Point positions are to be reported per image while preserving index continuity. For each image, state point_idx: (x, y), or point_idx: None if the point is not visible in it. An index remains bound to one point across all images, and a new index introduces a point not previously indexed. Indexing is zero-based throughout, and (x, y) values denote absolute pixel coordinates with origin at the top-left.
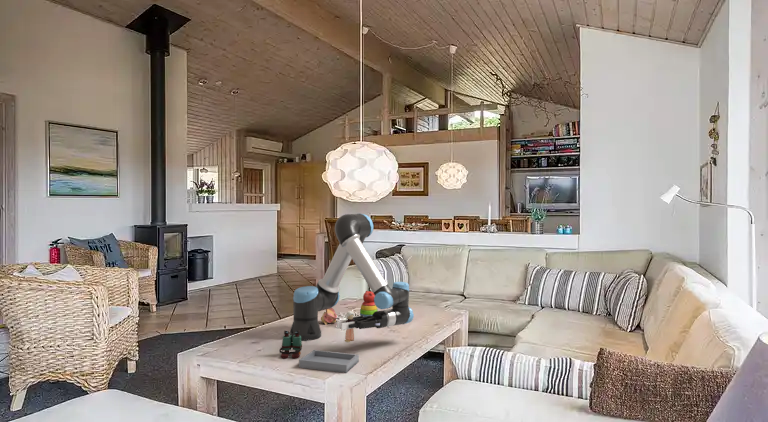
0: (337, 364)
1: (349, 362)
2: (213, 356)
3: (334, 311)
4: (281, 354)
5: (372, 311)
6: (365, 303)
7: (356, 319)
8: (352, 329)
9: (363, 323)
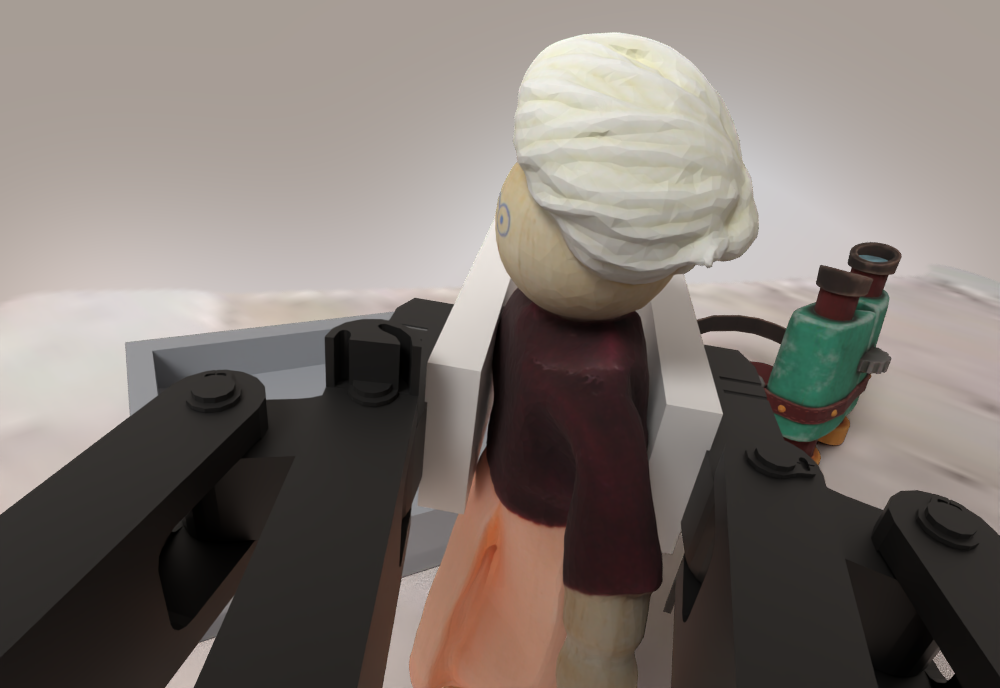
0: (218, 334)
1: (130, 382)
2: (907, 290)
3: None
4: (759, 363)
5: None
6: None
7: (730, 645)
8: (460, 515)
9: (102, 452)
